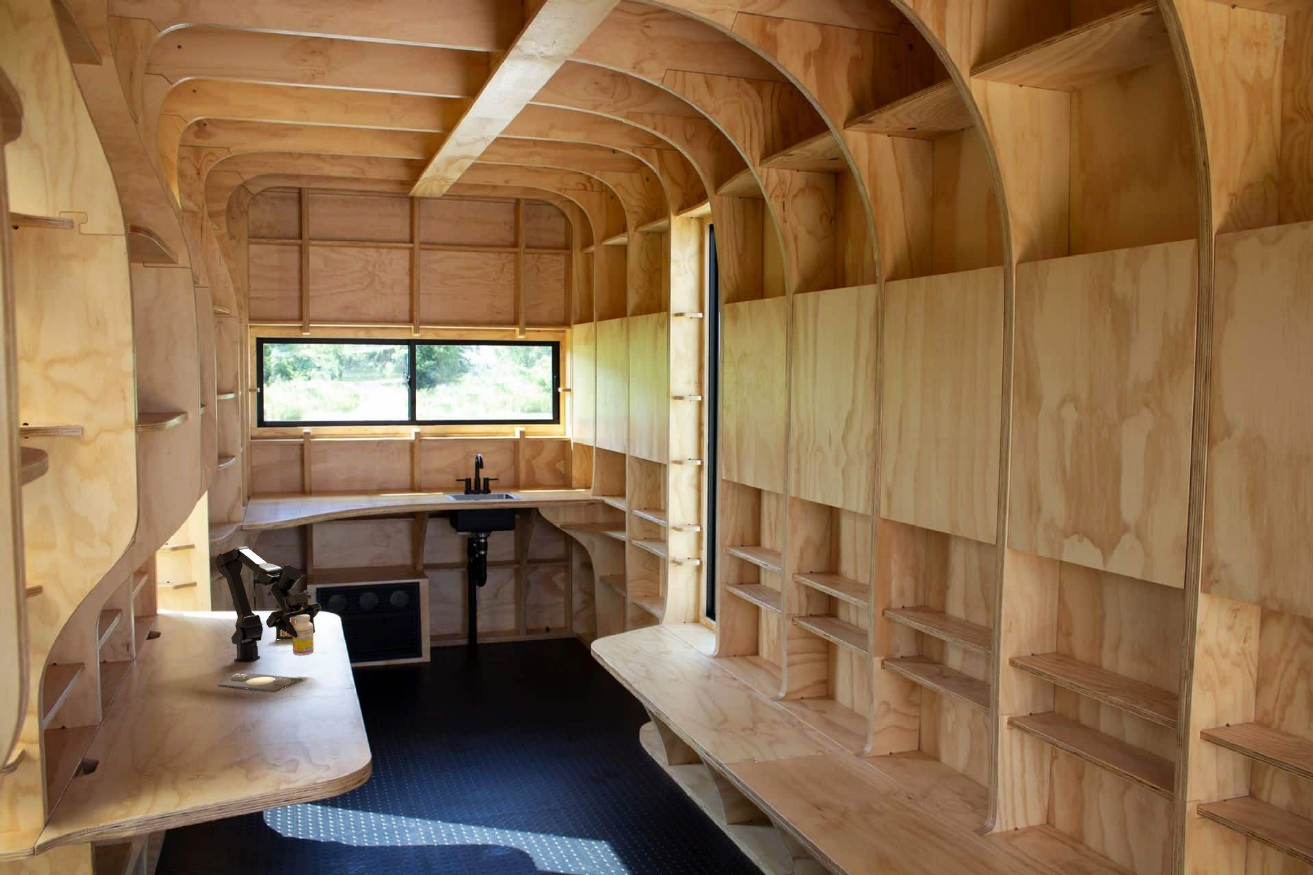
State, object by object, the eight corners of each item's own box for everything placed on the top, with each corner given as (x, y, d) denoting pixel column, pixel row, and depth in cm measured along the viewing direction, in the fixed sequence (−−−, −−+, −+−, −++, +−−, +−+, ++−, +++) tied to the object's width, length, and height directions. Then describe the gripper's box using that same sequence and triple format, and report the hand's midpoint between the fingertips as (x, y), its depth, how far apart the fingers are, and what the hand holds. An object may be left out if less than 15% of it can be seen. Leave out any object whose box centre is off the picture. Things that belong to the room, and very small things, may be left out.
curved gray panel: (218, 685, 358) (218, 679, 358) (248, 674, 371) (248, 668, 371) (274, 692, 350) (274, 685, 350) (302, 680, 364) (302, 673, 363)
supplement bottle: (296, 651, 375) (295, 613, 374) (315, 650, 375) (315, 613, 374) (290, 656, 368) (289, 618, 367) (311, 656, 369) (310, 617, 368)
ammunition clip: (305, 637, 423) (304, 606, 422) (305, 638, 421) (304, 607, 420) (276, 639, 420) (275, 608, 419) (275, 640, 418) (275, 609, 418)
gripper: (270, 588, 365) (292, 625, 359) (317, 579, 380) (338, 615, 374) (256, 608, 370) (277, 646, 364) (303, 598, 385) (324, 634, 380)
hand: (305, 634), depth 371 cm, fingers closed on supplement bottle, 7 cm apart
